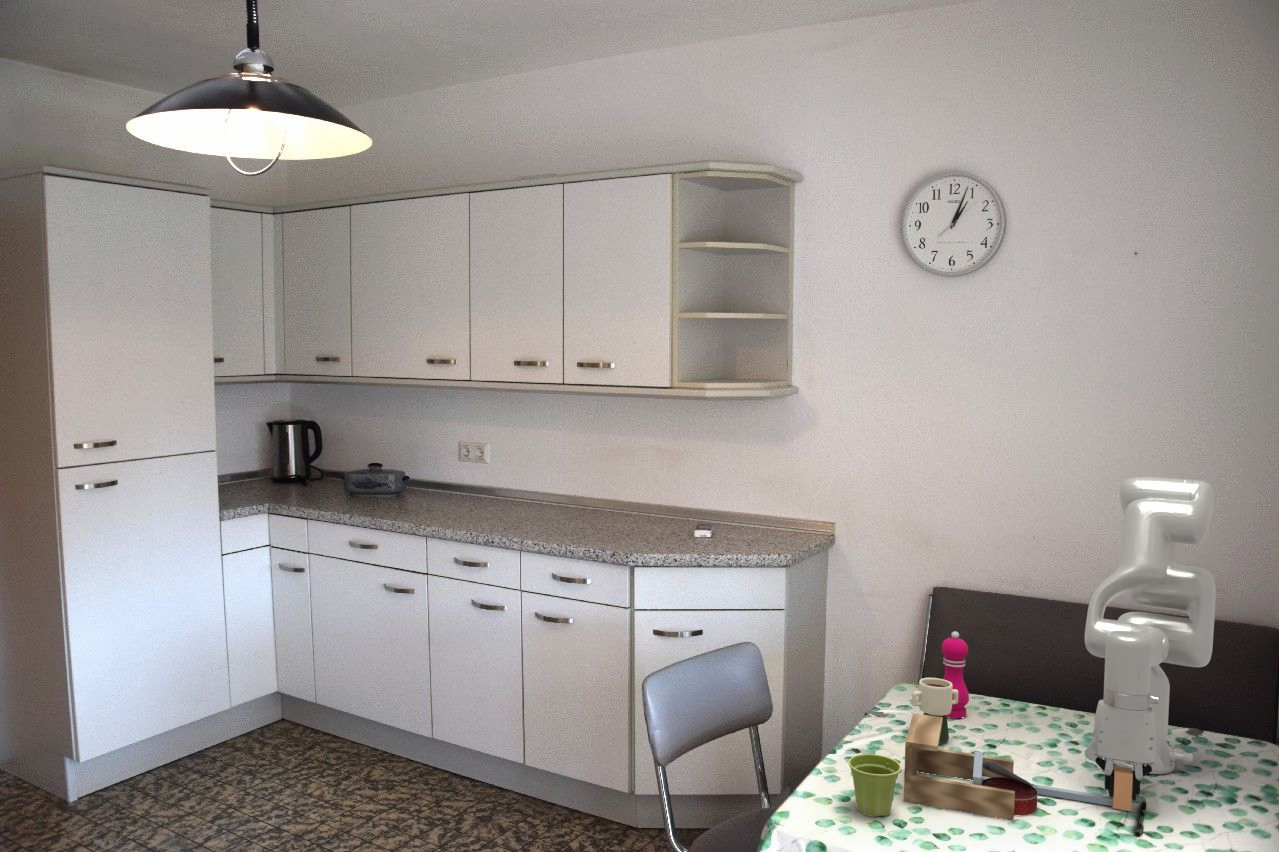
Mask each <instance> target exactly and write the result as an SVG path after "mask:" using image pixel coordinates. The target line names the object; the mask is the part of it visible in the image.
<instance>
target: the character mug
mask: <svg viewBox="0 0 1279 852" xmlns="http://www.w3.org/2000/svg"><path fill="white" fill-rule="evenodd" d="M952 688H953V685H952V683H951V682H949V681H947V680H943V678H937V677H924V678H920V679H919V682H918V690H915V691H912V693H911V704H912V706H913V707H918V708H919V710H920V711H921V712H923V713H922V715H930V716H937V717H943V722H942V728H941V734H940V739H939V744H944V743H947V742H949V739H950V735H949V724H948V718H947V717H946V715H948V714H950V713H951V710H952V704H957V703H958V690H956V689H953V690H952ZM952 694H954V699H953V700H952Z"/></svg>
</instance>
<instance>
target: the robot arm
mask: <svg viewBox="0 0 1279 852" xmlns="http://www.w3.org/2000/svg"><path fill="white" fill-rule="evenodd" d="M1213 489H1214V488H1213V487H1212V485H1210V483H1208V482H1206V481H1204V480H1198V479H1185V478H1184V479H1183V478H1171V477H1161V476H1160V477H1157V476H1135V477H1134V476H1133V477H1130V478H1126V479H1125V480H1123V481H1122V483H1121V485H1120V487H1119V500H1120V505H1121V510H1122V513H1123V516H1124V519H1123V524H1122V525H1123V527H1122V528H1123V529H1122V535H1121V542H1120V543H1121V544H1120V550H1119V561H1118V566H1117V569H1116V570H1115V572H1113V573H1112V574H1110V576H1108V577H1107V578H1106V579H1104V580H1103V581H1102V582H1101V583H1100V584H1099V585H1098V586H1097V588H1096V589H1095V591H1094V592H1093V594H1092V596H1091V598H1090V601H1089V603H1088V608H1087V612H1086V613H1087V614H1086V615H1087V616H1086V621H1085V622H1086V623H1085V629H1084V644H1085V648H1086V650H1087V651H1088V652H1089V654H1091V655H1093V656H1094V657H1097V658H1103V659H1104V678H1103V679H1104V680H1103V682H1104V683H1103V698H1102V699H1099V700H1098V703H1097V707H1096V711H1095V717H1094V724H1093V725H1094V726H1093V735H1092V736H1093V737H1092V740H1090V743H1089V744H1088V745H1087V747H1086V749H1085V750H1084V751H1083V753H1084V756H1085V757H1086V758H1088V760H1091V761H1092V762H1094V763H1096V765H1097V766H1098V767H1099V768H1100V769H1101V770H1102V771H1103V772H1104V785H1103V786H1104V790H1105V791H1108V792H1107V793H1108V796H1109V797H1113V796H1114V774H1113V765H1114V766H1121V767H1127V768H1131V770H1132V773H1133V783H1132V801H1137V796H1140V795H1141V781H1142V780H1143V779H1144V778H1145V776H1147V775H1148V774H1149V775H1166V774H1169V773H1172V772H1173V771H1174V770H1175V767H1176V766H1175V765H1176V763H1175V762H1176V761H1177V762H1182V763H1187V764H1193V762H1194V755H1193V753H1190V752H1189V753H1188V752H1185V750H1184V749H1180V748H1172V747H1171V746H1170V745H1169V742H1168V731H1169V730H1168V728H1169V727H1168V726H1169V710H1170V709H1169V707H1170V690H1171V689H1170V688H1171V687H1170V686H1171V685H1170V681H1169V678H1168V677H1167V675H1166V672H1164V670H1163V669H1162V667H1161V666H1160V665H1161V663H1166V664H1171V665H1177V666H1183V667H1191V668H1203V667H1205V666H1207V665H1208V664H1209V663H1210V661H1211V658H1212V654H1213V644H1214V633H1215V632H1214V631H1215V615H1216V597H1217V595H1216V591H1217V589H1216V582H1215V579H1214V578H1215V577H1214V576H1213V574H1212V573H1211V571H1209V570H1207V569H1205V568H1202V567H1200V566H1199V567H1198V566H1191V565H1184V564H1178V563H1177V562H1176V561H1177V560H1176V559H1177V551H1178V550H1177V548H1178V544H1183V545H1184V544H1185V545H1187V544H1188V545H1200V544H1202V543H1203V542H1205V540H1206V538H1207V535H1208V533H1209V529H1210V526H1211V521H1212V516H1213V513H1214V508H1215V498H1216V497H1215V492H1214V490H1213ZM1125 593H1128V597H1129V599H1130V600H1131V601H1132V602H1133V603H1135V604H1137V605H1140V606H1143V607H1149V608H1154V609H1160V610H1169V611H1174V612H1175V611H1176V612H1183V613H1185V614H1187V616H1188V618H1186V617H1179V616H1172V615H1166V614H1159V613H1152V612H1147V611H1146V612H1145V611H1129V612H1126V613H1123V614H1121V615H1120V616H1119V617H1118V619H1117V620H1116V619H1108V618H1104V616H1105V615H1104V614H1105V611H1106V607H1108V605H1109V603H1110V602H1111V601H1113V600H1114V599H1116V598H1117V597H1118V596H1120V595H1122V594H1125Z"/></svg>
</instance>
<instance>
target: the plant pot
mask: <svg viewBox="0 0 1279 852" xmlns="http://www.w3.org/2000/svg"><path fill="white" fill-rule="evenodd" d="M847 762H848V766H849V768H850V772H851V774H852V781H853V787H854V789H853V790H854V796H855V797H854V799H855V804H856V805H855V806H856V809H857V810H858V811H859V813H860V814H862V815H864V814H865V816H869V817H872V818H877V817H880V816H883V817H886V816H888V815H890V814H891V812H892V805H893V799H894V793H895V789H896V783H897V779H898V778H899V774H900V772H901V771H902V765H901V763H900V762H899V761H897V760H896V759H894V758H891V757H888V756H886V755H880V754H875V753H872V754H871V753H863V754H862V753H861V754H857V755H854V756H851V757H850V758H849V759H848V761H847Z"/></svg>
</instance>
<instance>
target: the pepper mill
mask: <svg viewBox="0 0 1279 852" xmlns="http://www.w3.org/2000/svg"><path fill="white" fill-rule="evenodd" d="M950 634H951V635H950V636H951V637H947V638H946V639H944V640H943V642H942V644H941V652H942V654H943V655H944V656H943V662H942V663H943V664H944V667H945V668H944V669H945V670H944V676H943V678H942V679H943V680H947V681H949V682H951V683H952V685H953V688H952V690H953V689H956V690H958V703H957V704H952V710H951V713H950V714H948V715H946V717H950V718H962V717H965V716H966V717H967V708H966V707H965V706H967V705H968V704H969V701H970V696H969V694H970V693H969V690H968V688H967V686H966V683H965V680H964V672H963V671H964V667H965V666H966V659H965V658H966V657H967V655H968V654H969V647H968V644H967V643H966V641H965V640H963V639H962V638H959V637H960V633H959V632H958V631H955V630H954V631H952V632H951V633H950ZM953 699H954V694H952V700H953ZM966 717H965V718H966ZM950 718H949V719H950Z"/></svg>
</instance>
